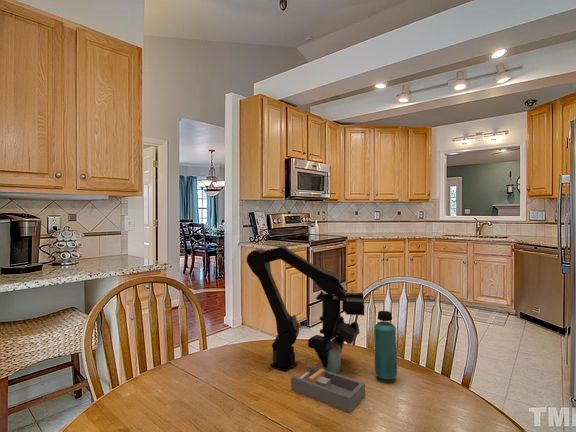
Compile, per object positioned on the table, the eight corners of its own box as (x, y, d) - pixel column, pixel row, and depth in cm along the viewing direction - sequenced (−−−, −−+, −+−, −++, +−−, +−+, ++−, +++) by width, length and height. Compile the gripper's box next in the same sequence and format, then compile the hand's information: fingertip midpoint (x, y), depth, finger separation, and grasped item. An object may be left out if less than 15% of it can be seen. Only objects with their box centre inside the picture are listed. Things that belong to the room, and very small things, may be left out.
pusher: (308, 389, 90) (308, 377, 90) (321, 380, 95) (321, 368, 95) (321, 394, 87) (321, 382, 87) (334, 384, 92) (333, 372, 92)
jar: (319, 370, 103) (319, 344, 103) (328, 363, 108) (328, 339, 108) (335, 375, 100) (335, 349, 100) (343, 368, 104) (343, 343, 104)
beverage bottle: (398, 385, 94) (398, 315, 94) (374, 383, 95) (374, 314, 95) (395, 374, 100) (395, 309, 100) (373, 372, 101) (373, 308, 101)
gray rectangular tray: (291, 389, 92) (291, 377, 92) (309, 376, 99) (309, 365, 99) (349, 412, 81) (349, 398, 81) (365, 396, 88) (365, 382, 88)
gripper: (340, 326, 92) (340, 382, 92) (367, 311, 107) (367, 359, 106) (306, 319, 98) (307, 371, 98) (336, 305, 113) (337, 350, 113)
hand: (331, 362), depth 104 cm, fingers open, 8 cm apart
